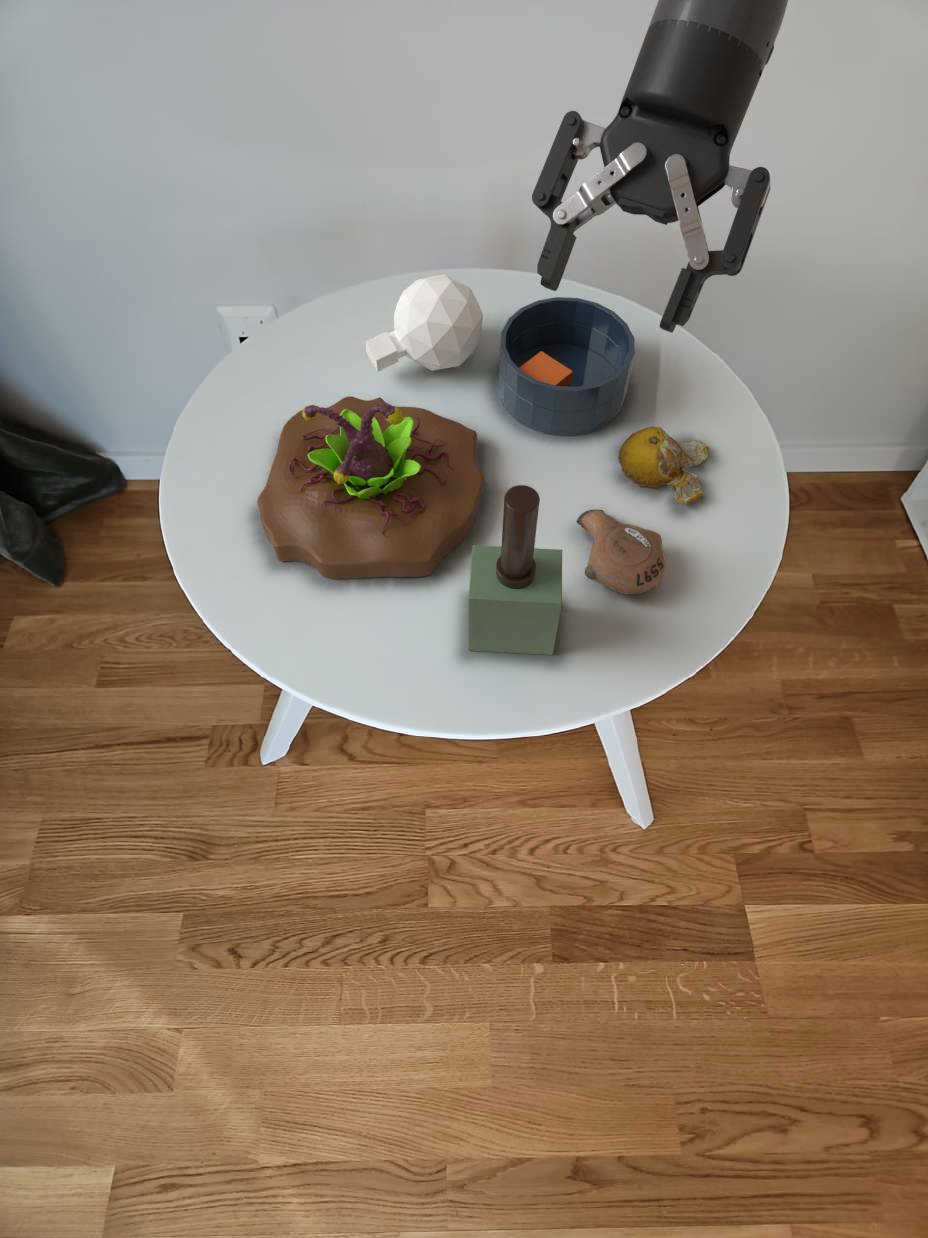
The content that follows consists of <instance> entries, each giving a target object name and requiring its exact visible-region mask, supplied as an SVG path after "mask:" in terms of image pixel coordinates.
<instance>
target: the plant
mask: <svg viewBox="0 0 928 1238" xmlns="http://www.w3.org/2000/svg"><path fill="white" fill-rule="evenodd" d="M477 449H478V433H477V431H476V430H474V429H472V428H470V427H467V426H465V425H464V424H463V423H460V422H458V421H455V420H454V419H453V420H452V419H450V418H447V417H444V416H441V415H439V414H437V413H434V411H433V412H432V411H430V410H428V409H425V408H422V407H415V406H396V405H392V404H390V403H388V402H387V401H385V400H383V399H382V398H381V396H379V397H377V398H374V399H369V400H365V399H360V398H358V397H355V396H352V395H351V396H350V395H349V396H348V395H347V396H344V397H343V398H341V399H340V400H338V401H337V402H335V403H334V404H331V405H330V406H328V407H324V406H322V407H321V406H319V405H315V404H310V405H307V406H305V407H304V408H302V409H301V410H299V411H298V412H296V413H295V414H293V415H292V417H290V418H289V419H288V420H287V421H286V423H285V424H284V426H283V427H282V430H281V433H280V436H279V439H278V444H277V450H276V453H275V456H274V459H273V462H272V465H271V468H270V471H269V474H268V477H267V481H266V484H265V486H264V487H263V490H262V491H261V492H260V494H259V495H258V497H257V502H256V503H257V507H258V511H259V515H260V516H259V517H260V523H261V526H262V529H263V533H264V535H265V537H266V539H267V540H268V542H269V543H270V544H271V545H272V547H273V549H274V552H275V555H276V558H277V560H278V561H279V562H291V561H297V562H301V563H305V564H307V565H309V566H311V567H313V569H315V570H316V571H317V572H318V573H319V574H320V575H321V576H322V577H324V578H327V579H335V580H337V579H349V578H350V579H360V578H361V579H363V578H364V579H365V578H383V577H384V578H385V577H387V578H388V577H394V578H417V577H419V578H420V577H427V576H430V575H432V574H433V572H434V571H435V570H436V569H437V568H438V566H439V565H440V564H441V562H442V561H443V560H444V559H445V557H446V556H447V555H448V554H449V553H450V552H451V551H452V550H453V549H455V548H456V547H459V546H460V545H461V544H462V543H463V542H465V540H466V538H467V536H468V535H469V534H470V532H471V530H472V528H473V526H474V524H475V520H476V516H477V512H478V510H479V507H480V504H481V501H482V499H483V498H482V497H483V495H484V484H485V483H484V481H485V476H484V474H483V473H482V471H481V469H480V467H479V465H478V462H477V455H476V452H477Z"/></svg>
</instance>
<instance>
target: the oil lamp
mask: <svg viewBox="0 0 928 1238" xmlns="http://www.w3.org/2000/svg"><path fill="white" fill-rule="evenodd" d="M576 523H577V525H579V526H581V528H582V529H584V530H585V531H586V532H587V533H588V534H589V536H590V537H591V538H592V540H593V544H592V546H591V549H590V553H589V556H588V562H587V565H586V567H585V569H584V575H585V577H586V578H587V579H590V580H591V581H594V582H597V583H600V584H601V585H603V586H605V587H606V588H608V589H610V590H613V591H614V592H618V593H621V594H627V595H637V594H642V593H647V592H648V591H650V590H652V589H654V588H655V587H656V586H657V585H658V584H659V583H660V582H661V580H662V578H663V577H664V575H665V572H666V567H667V563H666V562H667V561H666V557H665V552H664V548H663V539H662V535H661V534H659V533H658V532H656V531H654V530H651V529H647V528H643V527H640V526H637V525H634V524H630V523H624V522H621V521H620V520H618V519H616V518H614V517H613V516H611V515H609V514H608V513H606V511H604V510H603V509H589V510H585V511H583V513H581V514H580V515H579V516H578V518H577V520H576Z"/></svg>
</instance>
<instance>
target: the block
mask: <svg viewBox="0 0 928 1238" xmlns="http://www.w3.org/2000/svg"><path fill="white" fill-rule="evenodd" d="M519 369H520V370H521V371H522V372H524V373H526V374H527V375H529V376H531V377H533V378H534V379H536V380H538V381H541V382H545V383H548V384H552V385H555V386H569V387H571V382H572V375H573V371H572V370H570V369H569V368H567V367H566V366H564V365H562V364H561V363H559V362H558V361H556V360H555V359H553V358H552V357H550V356H548V355H547V354H545V353H544V352H542V351H541V352H539V353H538V354H537V355H535V356H534V357H533V358H531V359H530V360H529V361H528V362H526V363H525V364H524V365H522V366H521V367H520V368H519Z"/></svg>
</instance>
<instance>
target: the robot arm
mask: <svg viewBox="0 0 928 1238" xmlns="http://www.w3.org/2000/svg"><path fill="white" fill-rule="evenodd" d="M788 3H789V0H658V1H657V3H656V5H655V7H654V11H653V14H652V16H651V20H650V22H649V25H648V28H647V31H646V33H645V35H644V36H645V37H644V38H643V42H642V44H641V47H640V50H639V52H638V56H637V59H636V61H635V64H634V66H633V69H632V72H631V75H630V77H629V80H628V82H627V86H626V88H625V91H624V93H623V96H622V99H621V102H620V105H619V108H618V111H617V113H616V115H615V117H614V119H613V120H612V121H611V122H610V123H609V124H608V125H607V126H606V127H603V126H600V125H598V124H595V123H593V122H590V121H586V120H585V119H583V118H582V116H581V114H580V113H579V112H578V111H576V110H569V111H568V112H566V113H565V114H564V115H563V118H562V120H561V123H560V124H559V127H558V130H557V133H556V135H555V137H554V140H553V143H552V145H551V148H550V149H549V152H548V154H547V157H546V159H545V162H544V165H543V167H542V169H541V172H540V174H539V177H538V179H537V182H536V184H535V187H534V189H533V191H532V195H531V201H532V202H533V204H534V205H535V206H536V207H537V208H538V209H539V210H540V211H541V212H542V213H543V214H544V215H545V216H547V218H549V221H550V227H549V231H548V234H547V236H546V239H545V242H544V245H543V247H542V251H541V253H540V256H539V259H538V261H537V267H536V268H537V269H536V271H537V272H536V273H537V274H538V275H539V276H540V277H541V278H540V285H541V286H542V287H544V288H545V289H548V290H551V291H553V292H556V291H558V290H559V288H560V285H561V282H562V279H563V276H564V273H565V270H566V267H567V266H568V262H569V260H570V256H571V254H572V252H573V248H574V245H575V244H576V241H577V236H576V235H575V234H574V233H575V232H576V231H577V230H579V229H580V228H581V227H583V226H584V225H585V224H587V223H588V222H589V221H591V220H592V219H593V218H595V217H597V216H601V215H602V214H604V213H605V212H607V211H608V210H610V209H611V208H612V207H614V206H615V205H616V206H618V207H619V208H620V209H621V211H622V212H623V213H627V214H630V215H633V216H635V215H636V216H637V215H639V216H647V217H648V218H650V219H651V220H653V221H654V222H656V223H658V224H661V225H665V226H668V224H671V223H676V222H678V223H679V228H680V232H681V235H682V238H683V242H684V246H685V250H686V254H687V259H688V263H687V264H686V267H685V268H684V267H681V269H680V272H679V274H678V276H677V279H676V282H675V284H674V286H673V289H672V292H671V294H670V297H669V298H668V301H667V303H666V307H665V310H664V312H663V314H662V316H661V319H660V322H659V329H661V330H662V331H666V332H668V333H673V332H675V329H676V327H677V325H678V326H681V327H684V326H685V325H686V324H687V323H688V322H689V320H690V318H691V315H692V313H693V311H694V308H695V306H696V304H697V301H698V298H699V296H700V294H701V291H702V289H703V286H704V285H705V282H706V281H707V279H709V278H710V277H711V278H712V277H714V276H723V275H725V276H726V275H727V276H730V277H735V276H738V275H739V274H740V273H741V271H742V270H743V267H744V264H745V262H746V259H747V256H748V253H749V250H750V248H751V244H752V243H753V240H754V236H755V234H756V231H757V229H758V226H759V222H760V220H761V217H762V214H763V211H764V208H765V206H766V203H767V199H768V197H769V194H770V192H771V175H770V172H769V170H768V169H767V168H766V167H765V166H757V167H755V168H754V169H748V168H744V167H738V166H734V165H730V157H731V152H732V149H733V146H734V144H735V142H736V139H737V136H738V135H739V131H740V129H741V127H742V124H743V121H744V119H745V116H746V114H747V112H748V109H749V107H750V105H751V102H752V99H753V97H754V94H755V92H756V90H757V87H758V84H759V82H760V79H761V78H762V75H763V72H764V70H765V67H766V66H767V65H768V64H769V61H770V59H771V57H772V54H773V52H774V49H775V42H776V40H777V37H778V35H779V33H780V30H781V27H782V24H783V20H784V18H785V14H786V10H787V6H788ZM597 148H599V150H600V155H601V159H602V163H603V164H602V165H603V168H601V169H600V170H599V171H598V172H596V173H595V174H594V175H592V176H590V178H588V179H587V180H586V181H585V182H583V183H582V184H581V185H580V187H579V189H578V190H577V191H576V192H575V193H573V194H571V195H570V196H569V197H568V198H567V199H565V200H564V201H562V200H563V197H564V195H565V192H566V190H567V188H568V185H569V183H570V181H571V178H572V176H573V173H574V171H575V168H576V166H577V164H578V161H579V160H585V159H586V158H588V156H590V153H591V152H592V151H593V150H594V149H597ZM725 186H727V187H729V188H730V190H731V192H730V200H731V204H732V206H733V207H734V208H736V209H737V210H736V212H735V215H734V218H733V221H732V224H731V226H730V230H729V232H728V235H727V238H726V240H725V244H724V247H723V249H720V250H719V249H718V250H709V246H708V242H707V238H706V233H705V229H704V225H703V221H702V217H701V213H700V209H699V206H701V205H702V204H704V203H705V202H706V201H708V200H709V199H710V198H712V197H713V196H714V195H716V194H717V193H719V192H720V191H721V190H723V188H724V187H725Z"/></svg>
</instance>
